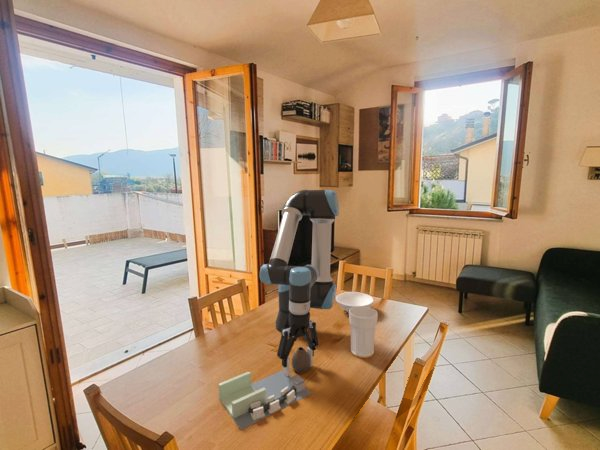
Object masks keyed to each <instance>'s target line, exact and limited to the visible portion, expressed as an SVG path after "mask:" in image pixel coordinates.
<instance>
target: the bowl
mask: <svg viewBox="0 0 600 450" xmlns="http://www.w3.org/2000/svg"><path fill="white" fill-rule="evenodd" d="M335 301H336V304H337V305H338V306H339V307H341V308H343V310H345V312H347V313H349V310H350V309H351V308H353V307H356V306H366V307H370V308H371V307H372V305H373V303H374V297H373V296H371V295H369V294H367V293H364V292H359V291H346V292H341V293H339V294H336V295H335Z"/></svg>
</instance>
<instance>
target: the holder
mask: <svg viewBox="0 0 600 450" xmlns="http://www.w3.org/2000/svg"><path fill="white" fill-rule="evenodd" d="M251 376H252V375H251V372H250V371H246V372H244V373H242V374H239V375H237V376H234V377H232V378H229V379H227V380H225V381H222V382H220V383H218V399H219V398H220V399H219V400H221V401H222V402H221V401H220V402H221V403H223V404H224V405H223V404H222V405H223V406H224V408H225V407H226V408H225V409H226V411H227V410H228V411H229V412H228V411H227V412H228V413H230V414H231V415H230V414H229V415H230V417H231V418H232V417H233V418H232V419H233V421H234V420H235V419H237V418H239V417H241V416H243V415H245V414H247V413H249V408H250V404H251V403H254V402H257V401H260V402H261V406H263V405H265V399H266V389H265V388H261V389H259V390H257V391H256V390H255V389H254V388H253V387H252V386H251V384H252V377H251Z"/></svg>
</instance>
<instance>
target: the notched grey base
mask: <svg viewBox="0 0 600 450" xmlns="http://www.w3.org/2000/svg"><path fill="white" fill-rule="evenodd" d="M292 390H295V391H296V387H295V386H292V388H291V389H290V390H289V391H288V392H287V393H286V394H284V395H283V396H281V397H279V398H278V399H276V400H279V404H281V403H283V402H284V401H285V400H287V394H288V393H289V392H291V391H292ZM276 400H274V401H276ZM274 401H272V402H274ZM272 402H270V403H272ZM270 403H268V404H265V405H263V408H264V412H265V411H267V410H268V409H270ZM260 407H262V406H260ZM258 408H259V407H258ZM253 409H256V408H253ZM253 409H251V408H249V413H253Z"/></svg>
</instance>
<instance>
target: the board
mask: <svg viewBox="0 0 600 450" xmlns="http://www.w3.org/2000/svg"><path fill="white" fill-rule="evenodd" d="M291 377H293V376H292V375H291V373H289V376H288V377H287V376H286V375H285V374H284V373H283V369H282V370H280V371H278V372H275V373H273V374H271V375H268V376H267V377H265V378H262V379H260V380H258V381H255V382H253V383H252V382H251V386H252V387H253V388H254V389H255V390H256V391H257V390H259V389H261V388H265V389H266V398H268V397H270V396H272V395H274V396H275V400H276V399H278V398H279V397H281V390H283V389H284V388H285V387H288V389H289V390H290V389H291V387H290V378H291ZM311 394H312V393H311V392H310V391H309V390H308V389H307V388H306V387H305V389H304V390H302V391H300V392H298V393H296V392H295V396H296V398H295V399H294V400H293V401H292V402H291V403H290V404H287V403H285V402H283V403H281V404H279V406H280V407H281V409H279V410H277V411H275V412H273V413H271V414H270V413H269V412H268V411H265V412H264V414H265V416H264V417H261V418H259V419H256V420H253V419H252V417H251V414H250V413H247V414H245V415H243V416H241V417H239V418H237V419H235V420H234V419H233V417H232V416H231V414H230V413H229V411H228V410H227V409H226V407H225V406H224V404H223V403H222V401H221V400H220V398H219V397H218V399H219V400H220V401H219V402H221V403H222V405H223V406H224V408H225V409H226V411H227V412H228V413H229V415H230V416H231V418H232V419H233V421H234V422H235V423H236V425H237V427H238V428H239V430H242V431H243V429H246V428H248V427H249V426H251V425H253V424H255V423H257V422H259V421H261V420H263V419H265V418H267V417H269V416H271V415H272V414H275V413H277V412H278V411H280V410H283V409H284V408H286V407H288V406H291V405H292V404H294V403H296V402H298V401H300V400H302V399H304V398H306V397H307V396H310V395H311Z"/></svg>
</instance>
